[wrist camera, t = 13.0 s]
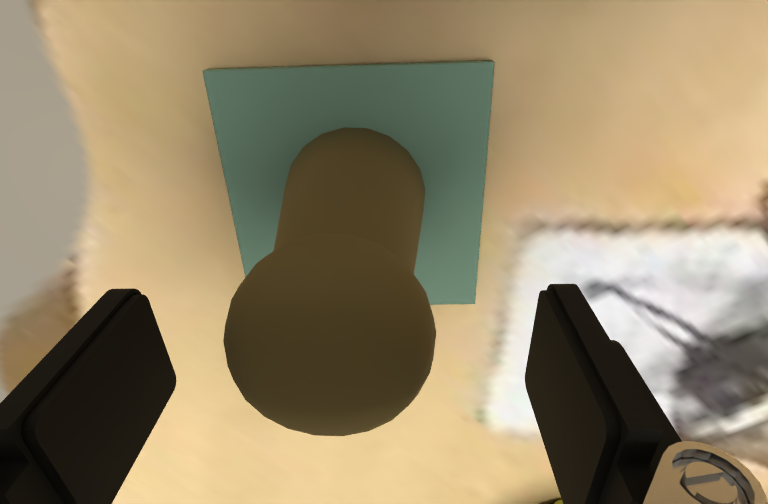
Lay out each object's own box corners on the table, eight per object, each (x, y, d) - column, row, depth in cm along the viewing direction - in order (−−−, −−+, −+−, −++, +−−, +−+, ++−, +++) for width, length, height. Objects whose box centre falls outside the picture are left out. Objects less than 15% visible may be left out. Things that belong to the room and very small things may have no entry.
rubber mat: (207, 69, 18) (202, 71, 17) (491, 60, 17) (494, 61, 17) (255, 300, 23) (252, 307, 22) (472, 296, 23) (474, 303, 22)
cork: (279, 245, 21) (186, 457, 11) (292, 113, 18) (179, 243, 8) (408, 267, 21) (425, 487, 12) (440, 142, 18) (498, 297, 9)
